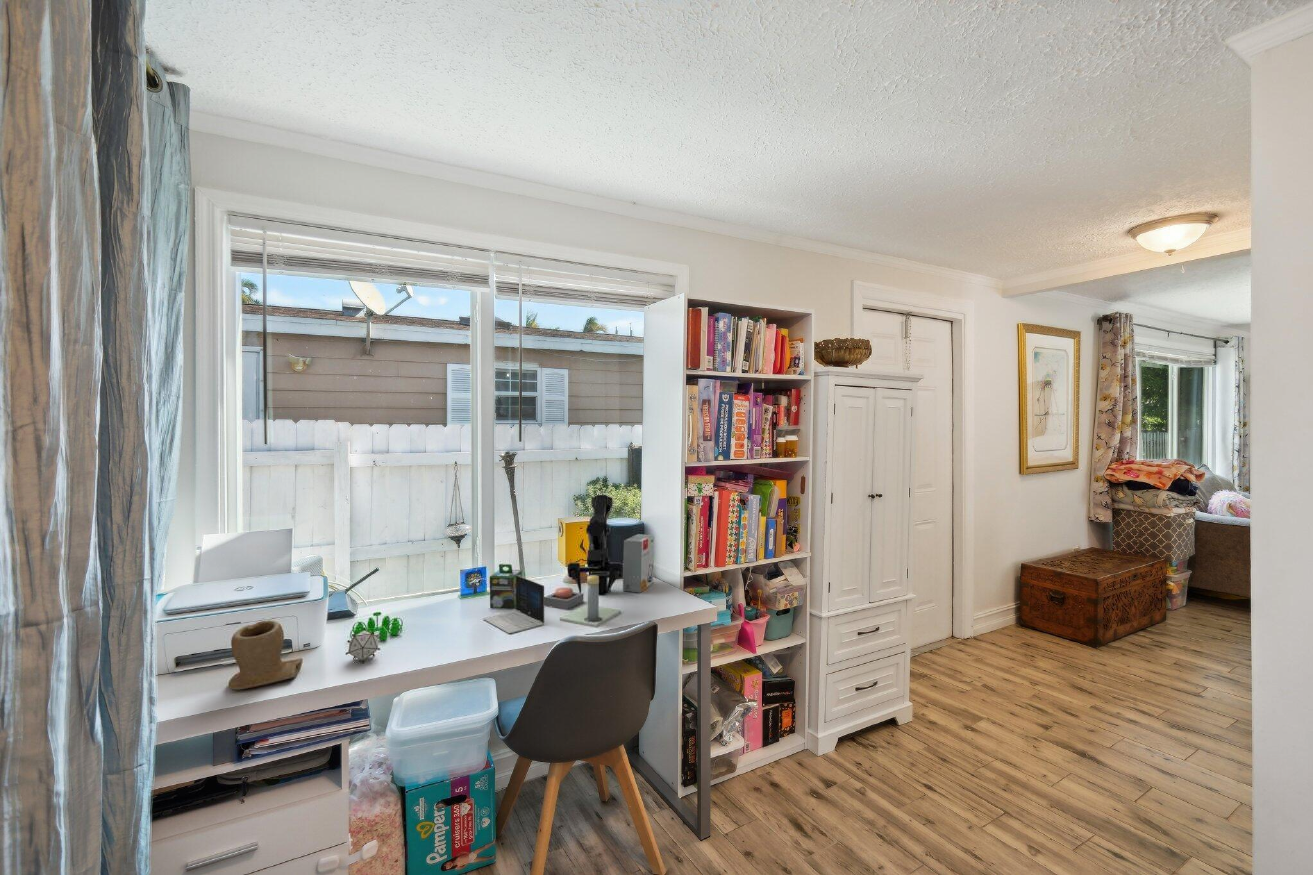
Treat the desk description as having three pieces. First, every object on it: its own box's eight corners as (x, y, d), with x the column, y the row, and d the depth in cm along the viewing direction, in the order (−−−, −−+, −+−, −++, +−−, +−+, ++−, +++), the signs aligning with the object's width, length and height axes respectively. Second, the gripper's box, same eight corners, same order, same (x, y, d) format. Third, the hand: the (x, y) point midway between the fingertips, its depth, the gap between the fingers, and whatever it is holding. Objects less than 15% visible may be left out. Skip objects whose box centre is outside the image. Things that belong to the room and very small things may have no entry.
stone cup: (225, 700, 131) (224, 636, 131) (231, 680, 141) (230, 620, 141) (302, 684, 139) (302, 624, 139) (302, 667, 149) (302, 610, 149)
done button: (562, 593, 207) (562, 586, 207) (575, 595, 205) (575, 588, 205) (552, 597, 202) (552, 590, 202) (566, 600, 199) (566, 593, 199)
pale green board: (586, 606, 200) (586, 604, 200) (620, 612, 194) (620, 610, 194) (559, 620, 186) (559, 617, 186) (595, 627, 180) (595, 624, 180)
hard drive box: (640, 593, 217) (641, 541, 216) (622, 591, 219) (622, 540, 219) (654, 583, 231) (654, 534, 231) (636, 581, 234) (636, 533, 233)
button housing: (560, 597, 210) (560, 589, 210) (583, 601, 206) (583, 593, 206) (544, 605, 201) (544, 597, 201) (567, 609, 197) (567, 601, 197)
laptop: (482, 620, 186) (482, 581, 186) (516, 612, 195) (516, 574, 195) (509, 635, 173) (509, 593, 173) (544, 625, 182) (544, 585, 181)
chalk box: (523, 600, 207) (523, 560, 206) (514, 609, 197) (514, 566, 197) (498, 600, 208) (498, 560, 207) (488, 608, 198) (488, 566, 198)
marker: (594, 616, 188) (594, 574, 187) (601, 619, 185) (601, 576, 184) (585, 618, 185) (584, 576, 184) (592, 622, 182) (591, 579, 182)
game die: (358, 676, 152) (334, 654, 147) (360, 654, 159) (338, 632, 154) (389, 658, 154) (366, 635, 149) (390, 636, 161) (368, 614, 156)
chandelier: (338, 644, 165) (338, 621, 165) (365, 626, 180) (365, 605, 180) (389, 645, 165) (389, 622, 164) (412, 627, 180) (412, 605, 179)
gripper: (568, 539, 193) (563, 580, 182) (622, 539, 193) (621, 580, 182) (570, 556, 201) (566, 597, 190) (623, 556, 201) (622, 596, 191)
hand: (594, 592), depth 188 cm, fingers open, 9 cm apart
